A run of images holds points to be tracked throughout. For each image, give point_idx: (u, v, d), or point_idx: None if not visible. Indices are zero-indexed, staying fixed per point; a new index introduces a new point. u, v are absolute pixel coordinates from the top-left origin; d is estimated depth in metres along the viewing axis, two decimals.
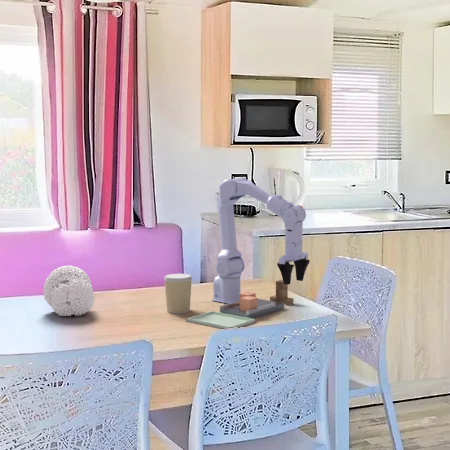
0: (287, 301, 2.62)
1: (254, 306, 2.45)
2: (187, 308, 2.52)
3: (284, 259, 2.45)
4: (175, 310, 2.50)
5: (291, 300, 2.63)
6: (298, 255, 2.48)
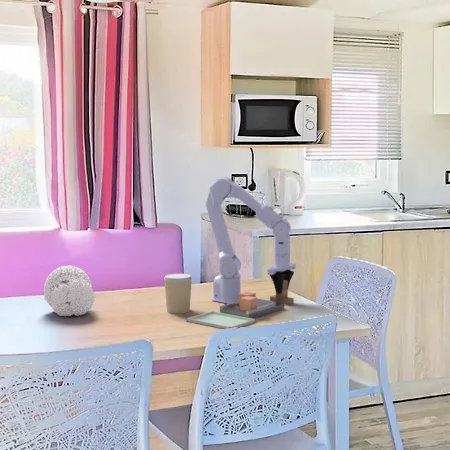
0: (287, 301, 2.62)
1: (254, 306, 2.45)
2: (187, 308, 2.52)
3: (272, 270, 2.58)
4: (175, 310, 2.50)
5: (291, 300, 2.63)
6: (286, 266, 2.61)
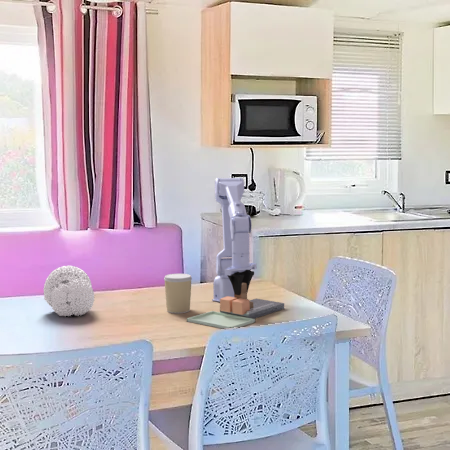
0: None
1: (246, 309, 2.42)
2: (187, 308, 2.52)
3: (230, 270, 2.39)
4: (175, 310, 2.50)
5: (251, 304, 2.45)
6: (245, 266, 2.43)
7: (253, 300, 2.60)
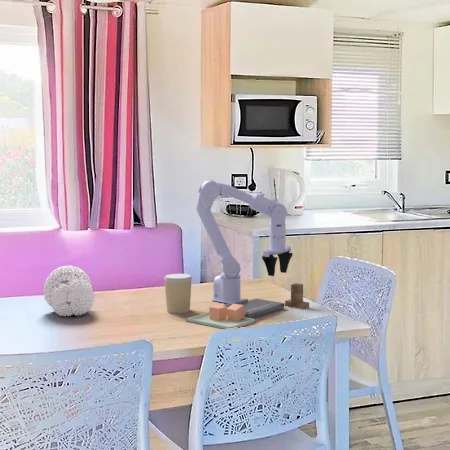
0: (303, 305, 2.55)
1: (241, 314, 2.40)
2: (187, 308, 2.52)
3: (268, 252, 2.62)
4: (175, 310, 2.50)
5: (307, 304, 2.56)
6: (281, 248, 2.65)
7: (253, 300, 2.60)
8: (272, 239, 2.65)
